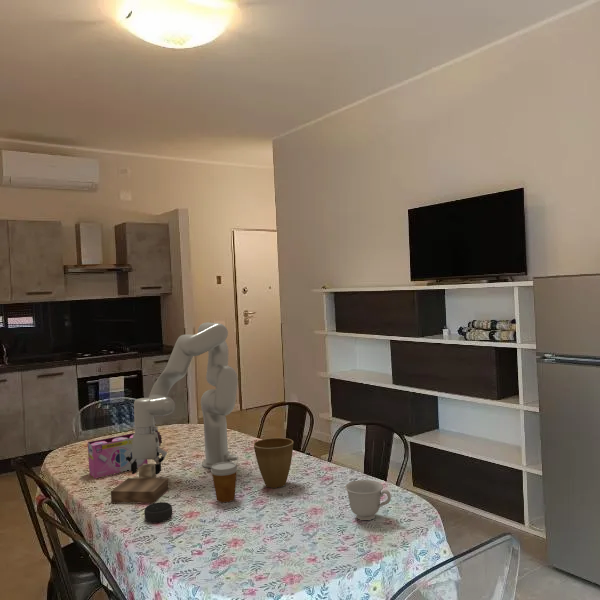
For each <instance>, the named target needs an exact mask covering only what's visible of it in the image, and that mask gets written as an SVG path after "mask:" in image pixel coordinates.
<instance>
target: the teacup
mask: <svg viewBox="0 0 600 600" xmlns="http://www.w3.org/2000/svg"><path fill="white" fill-rule="evenodd" d="M344 489H345V490H346V491H347V494H348V495H347V496H348V501H349V502H348V503H349V506H350V510H351V512H352V513H353V514H355V515H356V517H357V518H358V519H360V520H359V521H361V520H370V521H372V520H371V519H373V518H374V519H375V515H377V513H378V512H379V510H380V508H381V507H382V506H385V505H388V504H389V503H390V501H391V499H392V495H391V493H390V491H389V490H388V489H384V485H383V484H382V483H380V482H379V481H376V480H372V479H359V480H353V481H350V482H348V483H347V484H346V485H345V486H344ZM384 494H386V495H387V499H386V500H385V501H383V502H381V498H382V497H384ZM357 518H356V519H357ZM358 519H357V520H358ZM374 519H373V520H374Z"/></svg>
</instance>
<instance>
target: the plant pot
mask: <svg viewBox="0 0 600 600" xmlns="http://www.w3.org/2000/svg"><path fill="white" fill-rule="evenodd" d="M253 448H254V453H255V458H256V462H257V466H258V469H259V472H260V474H261V477H262V480H263V482H264V484H265V487H267V488H269V487H271V488H270V489H278V488H277V487H279V488H283V487H284V485H285V486H286V484H287V480H288V477H289V473H290V469H291V465H292V461H293V460H292V459H293V453H294V452H293V450H294V440H292V439H290V438H286V437H269V438H263V439H259V440H257V441H255V442H254V443H253ZM282 486H283V487H282Z"/></svg>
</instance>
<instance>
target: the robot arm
mask: <svg viewBox="0 0 600 600" xmlns="http://www.w3.org/2000/svg"><path fill="white" fill-rule="evenodd" d="M228 334H229V331H228V328H227V327H226V325H225V324H223V323H220V322H210V321H209V322H208V321H207V322H203V323H201V324H200V325H199V326H198V328H197V333H195V334H181V335H180V336H178V338H177V339H176V342H175V344H174V345H173V348H172V352H171V354H170V356H169V359H168V361H167V364H166V366H165V368H164V370H163V371H162V372H161V374H160V375H159V376H158V378H157V379H156V380H155V381H154V384H153V386H152V388H151V391H150V393H149V395H148V397H141V398H137V399H135V400H134V402H133V417H134V432H133V433H134V435H133V440H132V448H131V449H129V450H127V451H126V452H124V454H125V456H126V458H127V460H128V461H129V462H130V464H131V470H130V471H131V474H132V475H135V474H136V473H137V472H138V469H137V462H136V460H137V459H144V460H147V461H148V460H153V461H154V462H155V464H156V465H155V473H156V476H157V475H159V474H160V473H161V472H162V463H163V461H164V460H165V459H166V456H167V455H168V451H166V450H164V449H163V448H161V447H160V446H159V440H158V435H157V432H155V431H157V430H158V431H159V428H158V426H156V424H155V417H158V416H159V417H160V416H164V417H165V416H169V415H172V413H173V412H174V411H175V409H176V403H175V401H174V400H173V398H171V397H170V396H168V395H169V393H170V390H171V389H172V387H173V386H174V385H175V384H176V383H177V382H178V381H180V380H182V379H183V378H184V377H185V376H186V375H187V373H188V370H189V367H190V364H191V363H192V360H193V357H197V356H200V355H203V354H205V353H207V354H208V356H207V357H208V358H207V365H206V375H205V378H206V382H207V384H209V385H210V386H213V387H215V388H211V389H208V390H206V391H204V392H203V394H202V396H201V397H200V406H201V413H202V418H203V431H204V433H203V435H204V450H205V452H204V454H205V459H204V460H203V461H202V462H201V465H202V467H204V468H207V469H212V466H213V465H214V464H217V463H221V462H233V461H239V460H238V459H239V456H238V455H237V454H231V451H230V450H229V448H228V447H229V446H228V428H227V427H228V425H227V417H226V416H228V415H230V414H231V413H232V412H233V411H234V409H235V406H236V400H237V390H238V374H237V372H236V370H235V368H233V367H232V366H229V346H228V343H227V341H226V340H227V338H228V336H229V335H228ZM130 452H132V457H131V456H130V454H129V453H130ZM160 455H161V457H160Z"/></svg>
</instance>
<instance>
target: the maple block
mask: <svg viewBox="0 0 600 600" xmlns="http://www.w3.org/2000/svg"><path fill="white" fill-rule="evenodd" d="M155 465H156V463H148V464H143V465H142V466H140V467H139V468H138V478H157V475H156V473H155Z"/></svg>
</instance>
